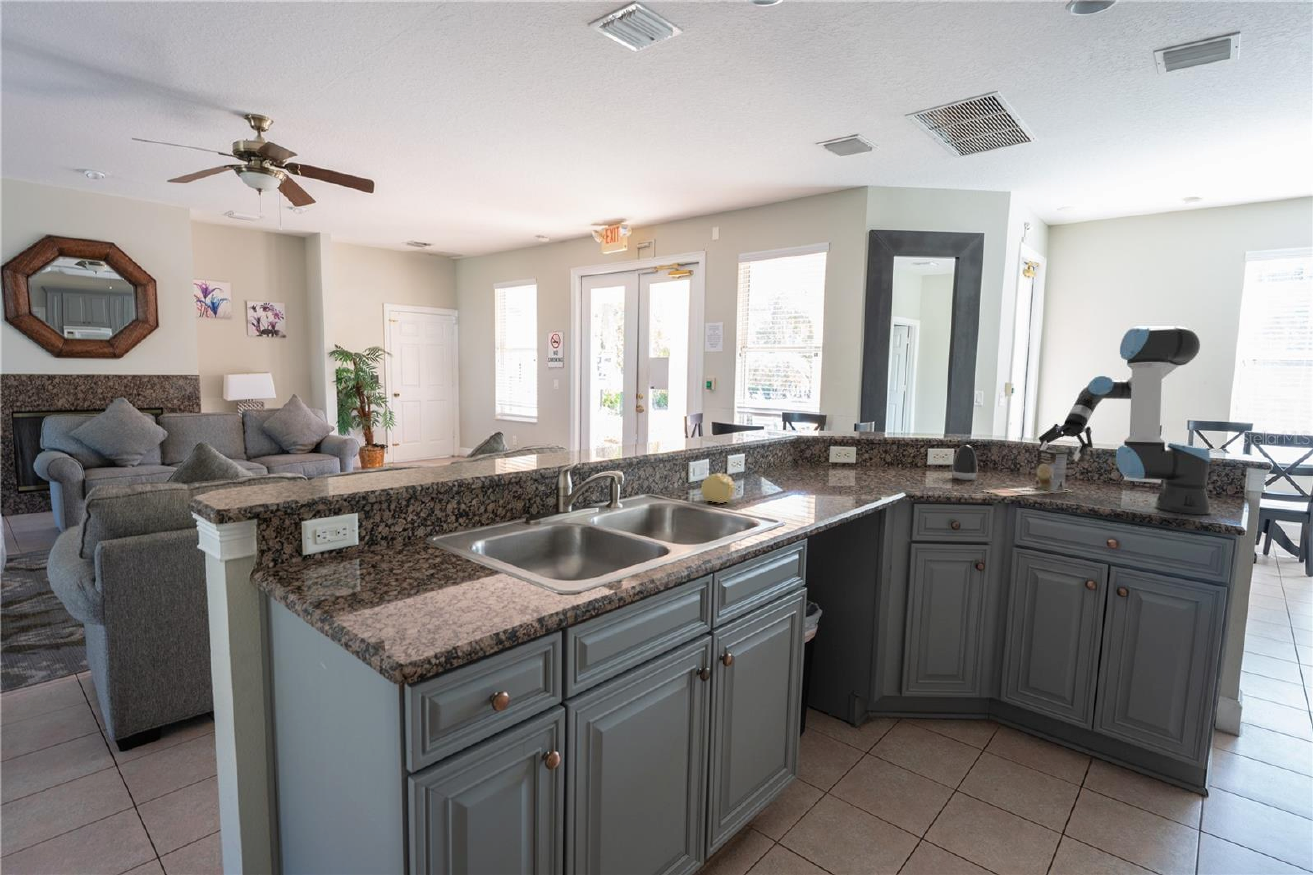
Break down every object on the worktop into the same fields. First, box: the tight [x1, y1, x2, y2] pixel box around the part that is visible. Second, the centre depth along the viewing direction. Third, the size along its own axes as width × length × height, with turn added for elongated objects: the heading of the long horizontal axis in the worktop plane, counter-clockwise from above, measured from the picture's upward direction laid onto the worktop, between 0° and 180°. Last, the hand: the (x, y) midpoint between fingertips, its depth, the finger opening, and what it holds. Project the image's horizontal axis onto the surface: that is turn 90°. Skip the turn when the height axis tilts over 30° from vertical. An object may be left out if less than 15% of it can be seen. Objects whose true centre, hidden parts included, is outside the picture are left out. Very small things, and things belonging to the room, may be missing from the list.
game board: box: [981, 485, 1074, 498], centre depth 261 cm, size 12×35×1 cm, turn 109°
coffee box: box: [1034, 448, 1069, 492], centre depth 264 cm, size 9×6×16 cm
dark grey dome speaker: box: [951, 444, 979, 481], centre depth 287 cm, size 10×10×15 cm
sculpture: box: [700, 472, 736, 504], centre depth 236 cm, size 12×12×11 cm
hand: (1057, 456), depth 268 cm, fingers open, 13 cm apart
